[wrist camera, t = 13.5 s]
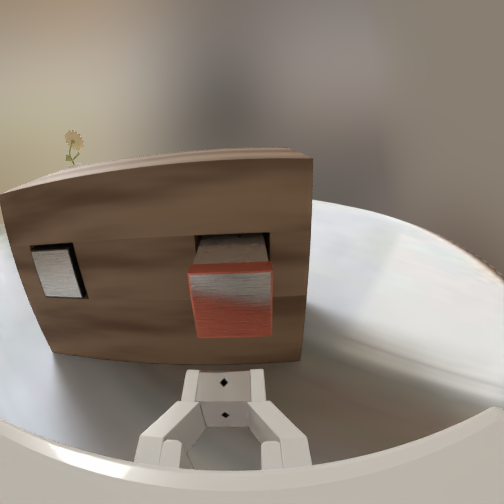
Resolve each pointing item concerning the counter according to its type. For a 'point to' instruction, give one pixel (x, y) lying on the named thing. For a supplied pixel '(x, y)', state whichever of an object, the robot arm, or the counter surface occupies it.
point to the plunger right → (231, 286)
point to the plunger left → (58, 270)
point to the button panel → (164, 250)
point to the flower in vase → (73, 146)
